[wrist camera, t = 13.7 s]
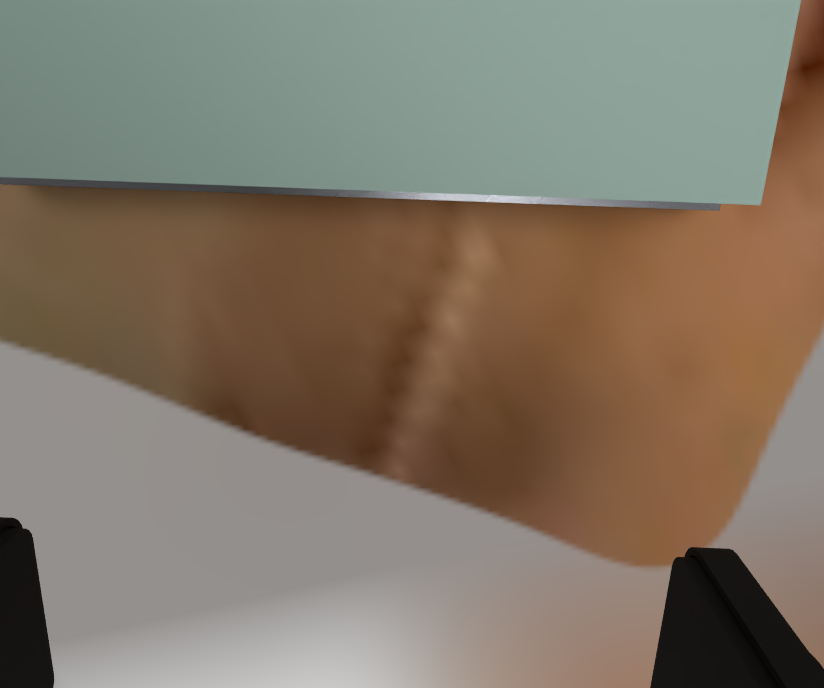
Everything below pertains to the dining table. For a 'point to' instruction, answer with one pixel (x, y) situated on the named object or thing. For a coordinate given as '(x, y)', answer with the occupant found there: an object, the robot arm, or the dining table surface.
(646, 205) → the vise base
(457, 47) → the block
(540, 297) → the dining table surface
